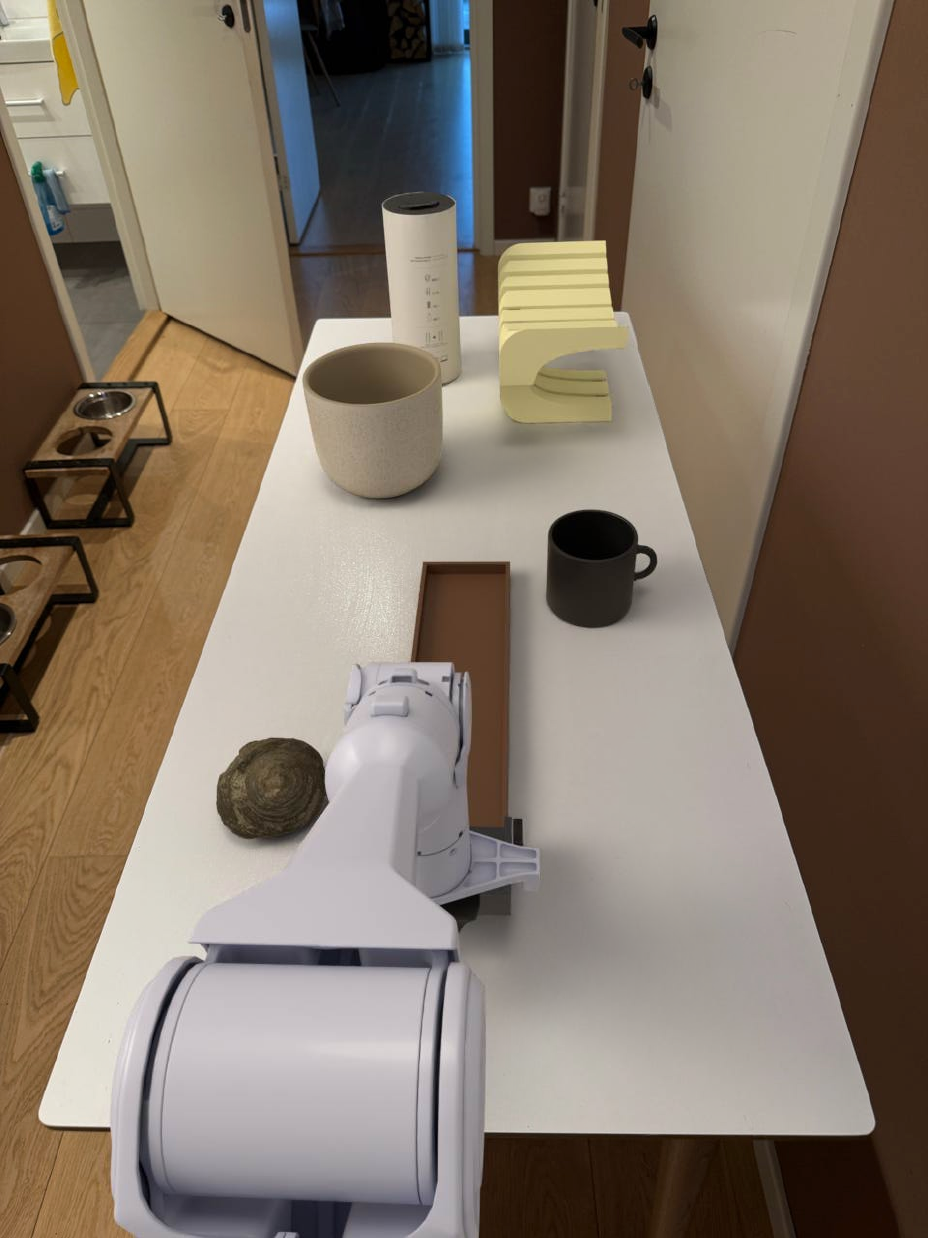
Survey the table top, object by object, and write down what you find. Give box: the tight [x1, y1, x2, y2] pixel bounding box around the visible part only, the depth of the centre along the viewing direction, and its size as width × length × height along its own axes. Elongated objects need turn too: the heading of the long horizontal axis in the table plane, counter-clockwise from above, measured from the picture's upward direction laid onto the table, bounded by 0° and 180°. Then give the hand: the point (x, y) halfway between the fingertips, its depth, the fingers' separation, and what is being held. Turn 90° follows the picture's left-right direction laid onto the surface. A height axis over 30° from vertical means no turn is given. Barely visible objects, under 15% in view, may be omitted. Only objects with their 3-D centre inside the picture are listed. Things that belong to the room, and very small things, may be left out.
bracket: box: [512, 817, 524, 847], centre depth 77 cm, size 2×13×4 cm, turn 88°
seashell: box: [215, 715, 327, 840], centre depth 80 cm, size 11×12×10 cm
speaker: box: [381, 191, 463, 386], centre depth 137 cm, size 11×10×26 cm
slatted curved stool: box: [497, 240, 629, 424], centre depth 131 cm, size 30×16×18 cm, turn 179°
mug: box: [545, 508, 658, 628], centre depth 100 cm, size 9×12×9 cm
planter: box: [301, 342, 444, 499], centre depth 118 cm, size 17×17×15 cm
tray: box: [410, 560, 511, 827], centre depth 92 cm, size 39×10×2 cm, turn 177°
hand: (434, 934), depth 65 cm, fingers closed
